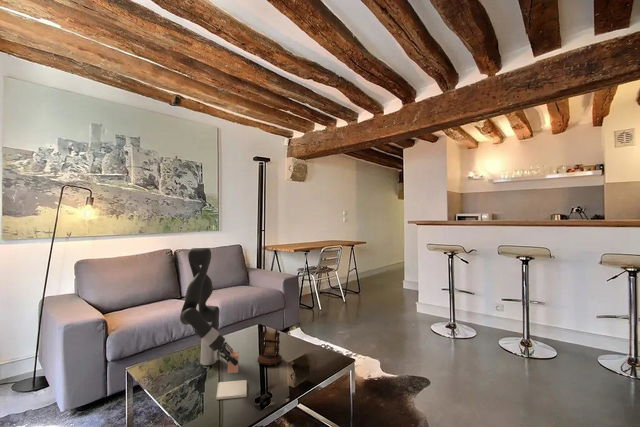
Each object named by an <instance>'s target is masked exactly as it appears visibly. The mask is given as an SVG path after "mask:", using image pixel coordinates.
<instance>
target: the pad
mask: <svg viewBox="0 0 640 427" xmlns="http://www.w3.org/2000/svg"><path fill="white" fill-rule="evenodd" d="M247 389H248V388H247V379H242V380H232V381H219V382H218V384H217V389H216V390H217V391H216V397H215V398H216V399H215V400H216V401H217V400H227V399H235V398H237V399H238V398H247V395H248V394H247V393H248V392H247Z"/></svg>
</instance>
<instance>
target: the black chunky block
mask: <svg viewBox="0 0 640 427" xmlns="http://www.w3.org/2000/svg"><path fill="white" fill-rule="evenodd" d="M271 400H272V397H271V395H269V394H268V393H265V394H262V395H260V397H259V403H256V404H254V405H252V407H254V408H255V409H256V410H257V411H258V412H260V411H263V410H265V409H264V408H265V407H266V406H268V405H269V404H270V403H271Z"/></svg>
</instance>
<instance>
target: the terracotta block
mask: <svg viewBox="0 0 640 427" xmlns="http://www.w3.org/2000/svg"><path fill="white" fill-rule="evenodd" d="M239 353H240V352H239V351H234V352H231V355H232V356H233V357H234V358H235V359H236V360H237V361H238V362H239V359H240V358H239ZM228 358H229V357H228ZM231 373H233V374H234V373H239V363H238V364H237V365H236V366H235V365H233V364H232V363H231V362H230V361H229V362H227V374H231Z"/></svg>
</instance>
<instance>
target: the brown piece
mask: <svg viewBox="0 0 640 427" xmlns="http://www.w3.org/2000/svg"><path fill="white" fill-rule="evenodd" d="M280 336H281V333H280V332H278V329H277V328H276V329H275V331H268V329H267V328H265V329H264V331H262V332H261V339H260V340H261V341H260V342H261V348H260V350H261V352H260V355H258V356H257V362H258V365H259V364H261V365H263V366H275V365H274V364H276V363H278V362H280V361H281V359H282V360H283V356H282V355H281V354H280V353H279V352H280V342H281V340H280ZM281 362H282V361H281ZM281 362H280V363H281ZM278 364H279V363H278ZM276 365H277V364H276Z"/></svg>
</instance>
